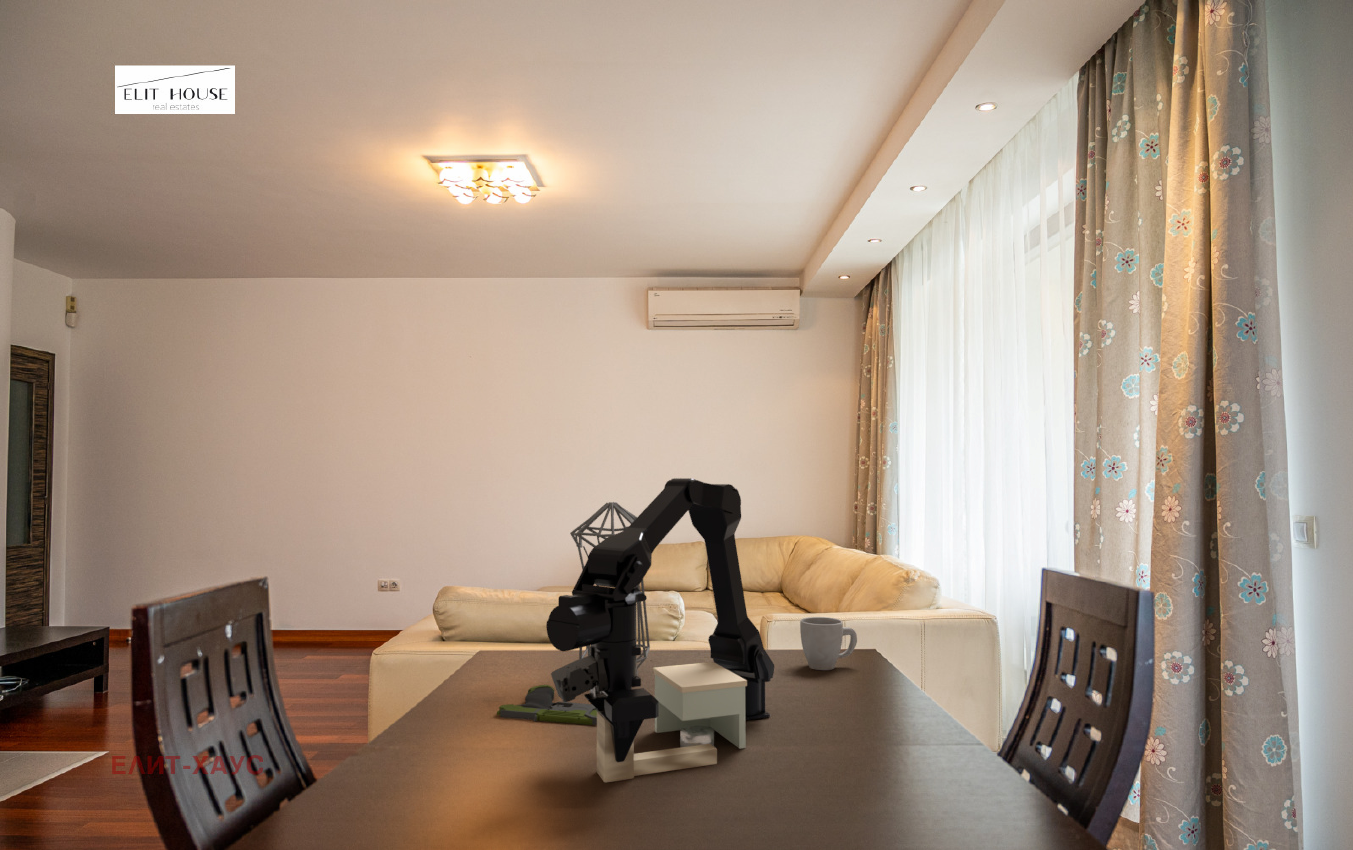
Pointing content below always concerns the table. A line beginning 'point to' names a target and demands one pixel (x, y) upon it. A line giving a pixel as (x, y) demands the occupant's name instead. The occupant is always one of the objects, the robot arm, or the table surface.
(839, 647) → the mug
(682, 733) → the cylinder
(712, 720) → the pale green stool
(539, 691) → the gun
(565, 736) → the table surface
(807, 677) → the table surface
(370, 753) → the table surface
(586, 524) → the geometric lantern
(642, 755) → the wooden l-shaped block
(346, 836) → the table surface
